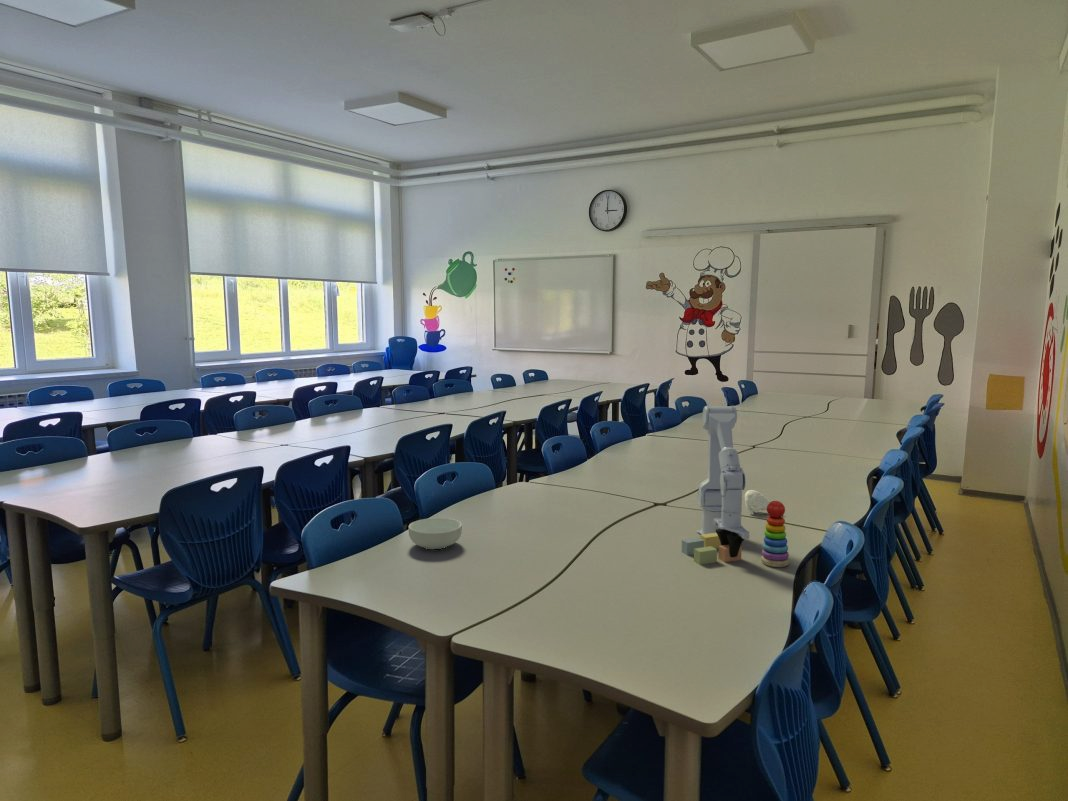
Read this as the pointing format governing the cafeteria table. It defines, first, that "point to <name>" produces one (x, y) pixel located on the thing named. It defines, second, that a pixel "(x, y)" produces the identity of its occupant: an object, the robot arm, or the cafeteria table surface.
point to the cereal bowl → (435, 532)
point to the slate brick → (691, 545)
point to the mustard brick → (711, 540)
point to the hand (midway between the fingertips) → (729, 554)
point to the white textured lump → (755, 501)
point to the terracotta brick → (728, 554)
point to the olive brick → (705, 555)
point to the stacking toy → (775, 537)
